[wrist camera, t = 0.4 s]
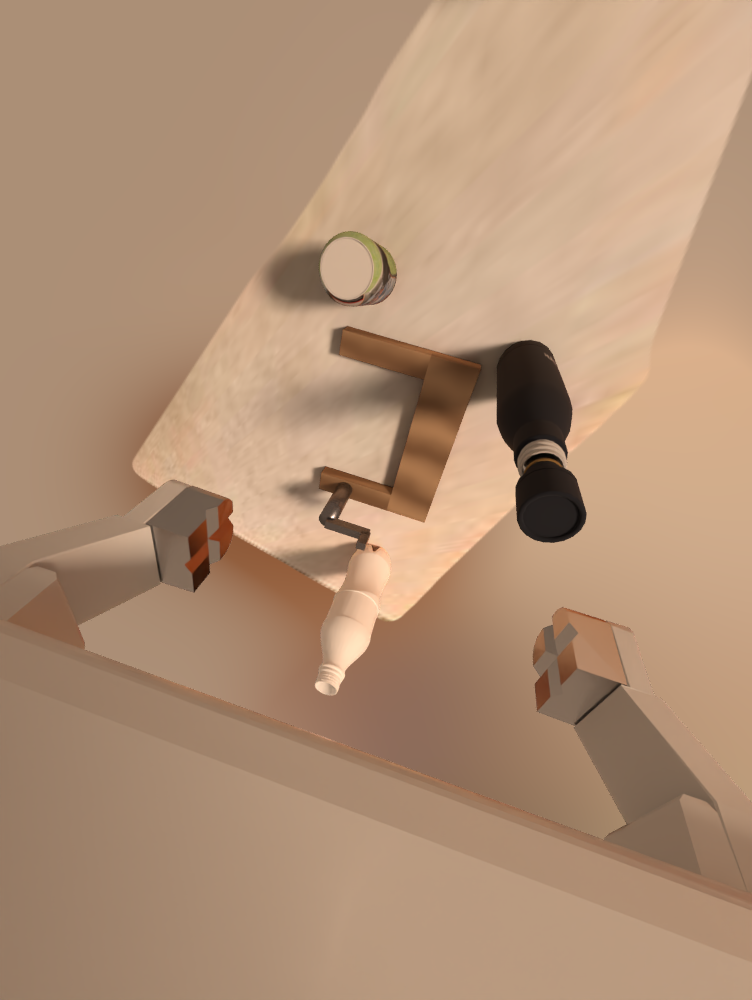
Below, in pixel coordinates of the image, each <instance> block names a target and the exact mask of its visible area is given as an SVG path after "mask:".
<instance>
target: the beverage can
mask: <svg viewBox="0 0 752 1000" xmlns="http://www.w3.org/2000/svg"><path fill="white" fill-rule="evenodd" d="M319 276H320V280H321V283H322V285H323V288H324V289H325V291H326V293H327V294H328V295H329V296H330V297H331V298H332V299H333V300H334V301H336V302H337V303H339V304H342V305H345V306H363V305H374V304H378V303H380V302H382V301H384V300H385V299H386V298H387V297H388V296H389V295H390V294H391V292H392V290H393V288H394V286H395V283H396V276H397V273H396V265H395V262H394V260H393V258H392V256H391V254H390V253H389V252H388V251H387V250H386V249H385V248H384V247H382V246H381V245H379V244H377V243H376V242H374V241H373V240H371V239H370V238H368V237H367V236H365V235H363V234H361V233H358V232H352V231H348V232H343V233H340V234H338V235H336V236H334V237H333V238H332V239H330V240H329V242H328V243H327V244H326V245H325V247H324V249H323V251H322V253H321V256H320V261H319Z"/></svg>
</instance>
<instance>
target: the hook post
mask: <svg viewBox="0 0 752 1000" xmlns="http://www.w3.org/2000/svg"><path fill="white" fill-rule="evenodd" d="M351 493H352V487H351V485H350V484H348V483H346V482H341V483H339V484H338V486H337V487H336V489H335V491H334V492H333V494H332V496H331V497H330V499H329V501H328V503H327V504H326V506H325V508H324V509H323V511H322V513H321V514H320V516H319V521H320V522H321V524H322V525H324V526H325V527H324V528H326V529H329V530H332V531H335V532H338V533H342V534H345V535H348V536H351V537H354V538H357V539H358V541H357V544H356V548H357V549H360V550H363V551H364V550H365V548H366V545H367V543H368V540H369V537H370V534H371V533H370V529H367V528H364V527H361V526H358V525H355V524H352V523H348V522H345V521H342V520H339V519H338V518H339V516H340V514H341V512H342V510H343V508H344V507H345V505H346V503H347V501H348V499H349V497H350V495H351Z"/></svg>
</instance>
